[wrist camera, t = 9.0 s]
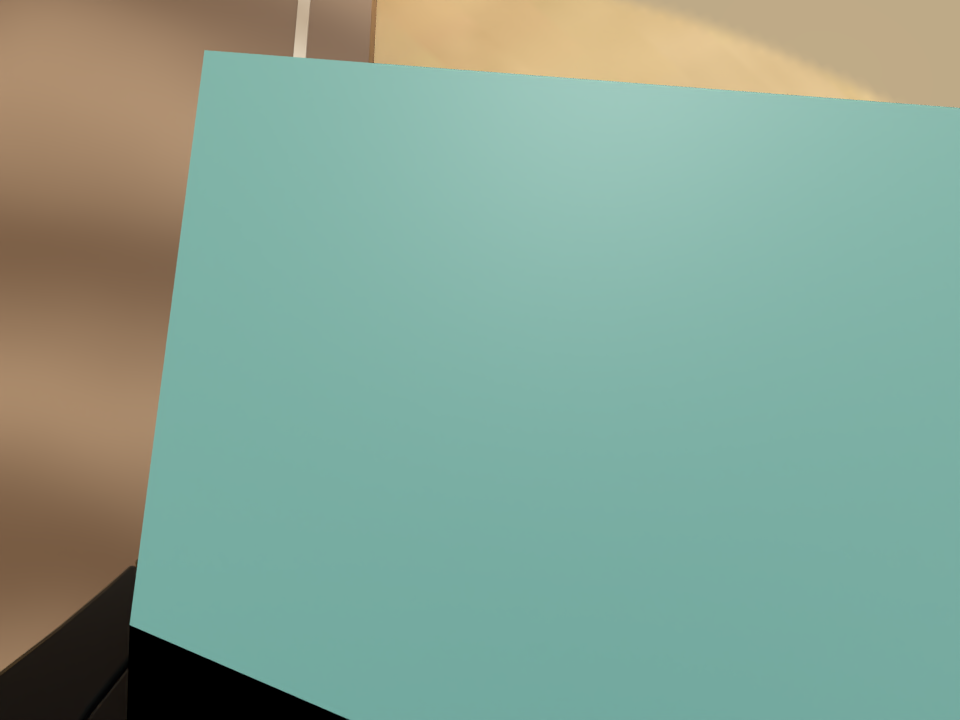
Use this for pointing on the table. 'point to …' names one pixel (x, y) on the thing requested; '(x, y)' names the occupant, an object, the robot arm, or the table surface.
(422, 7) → the table surface
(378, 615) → the teal rectangular block
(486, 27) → the table surface
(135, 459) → the board
